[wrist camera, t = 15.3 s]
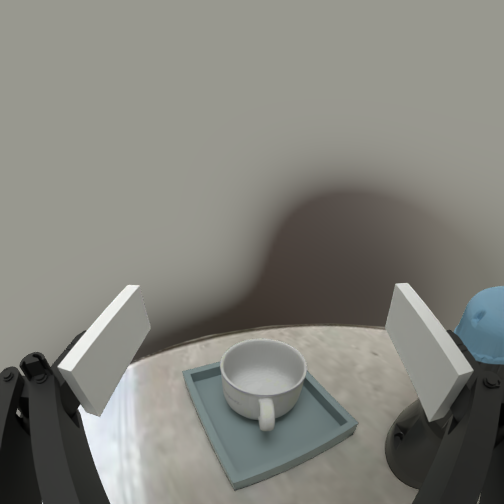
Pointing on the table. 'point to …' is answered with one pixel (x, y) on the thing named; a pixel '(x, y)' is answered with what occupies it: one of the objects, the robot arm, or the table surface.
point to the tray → (266, 442)
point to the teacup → (262, 379)
